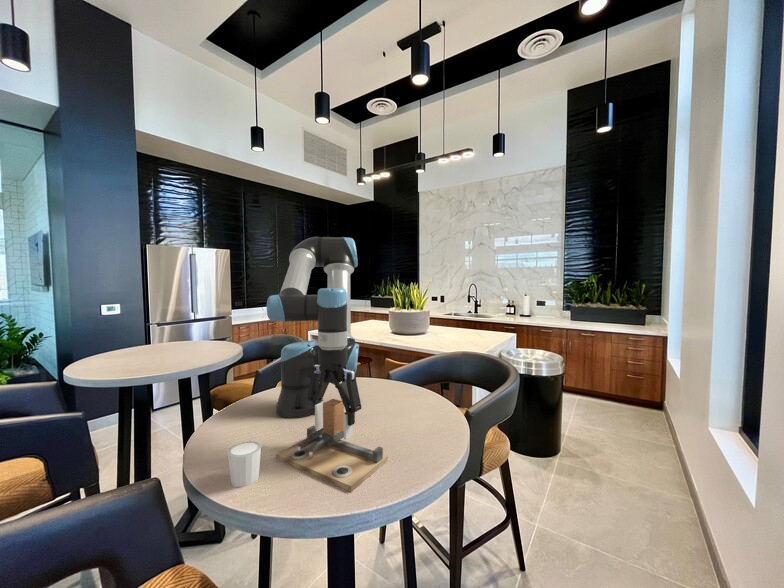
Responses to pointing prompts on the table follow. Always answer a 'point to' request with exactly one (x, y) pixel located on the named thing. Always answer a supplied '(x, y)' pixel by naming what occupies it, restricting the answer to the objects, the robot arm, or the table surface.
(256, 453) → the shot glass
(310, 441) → the fixed leg
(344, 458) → the bolt plate
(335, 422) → the block
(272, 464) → the table surface
